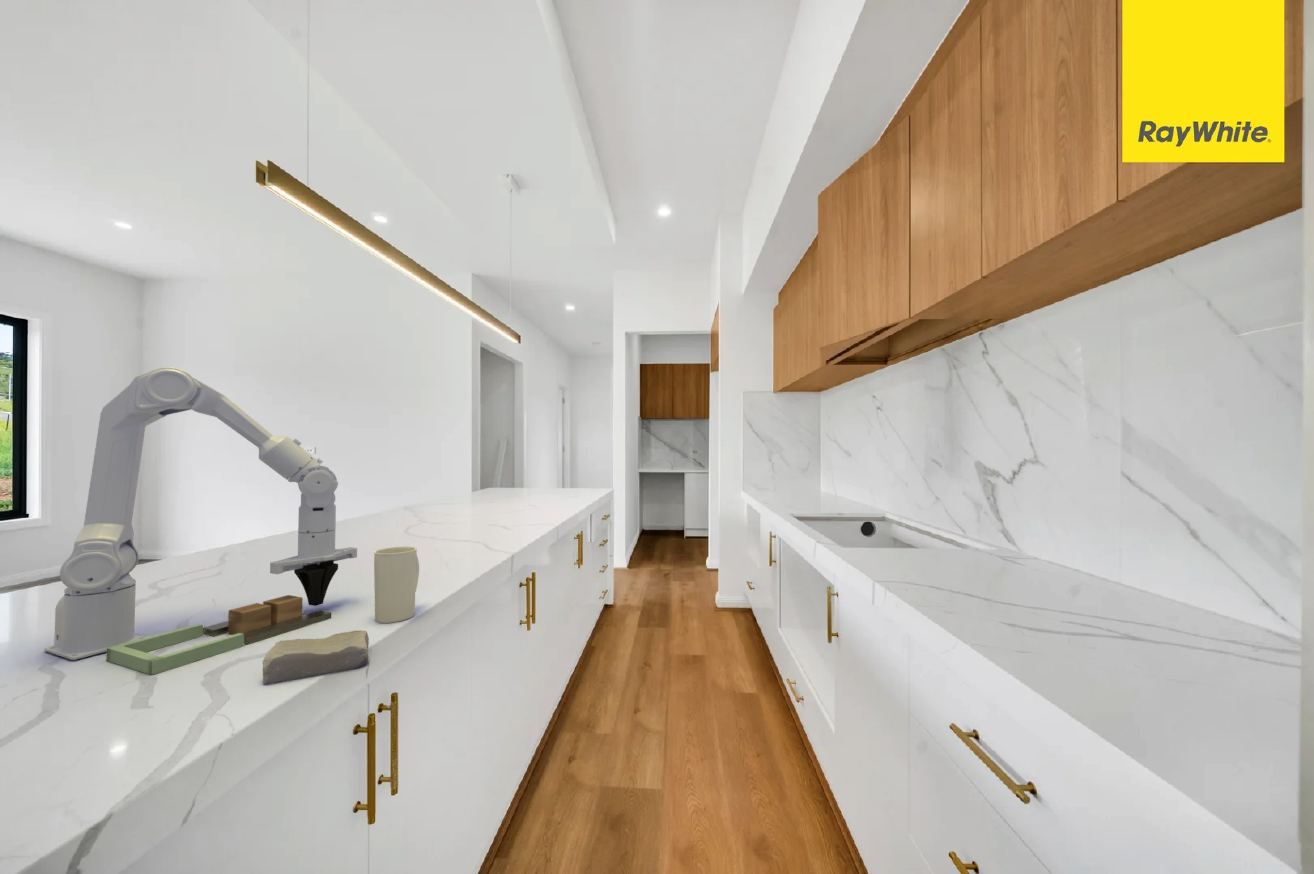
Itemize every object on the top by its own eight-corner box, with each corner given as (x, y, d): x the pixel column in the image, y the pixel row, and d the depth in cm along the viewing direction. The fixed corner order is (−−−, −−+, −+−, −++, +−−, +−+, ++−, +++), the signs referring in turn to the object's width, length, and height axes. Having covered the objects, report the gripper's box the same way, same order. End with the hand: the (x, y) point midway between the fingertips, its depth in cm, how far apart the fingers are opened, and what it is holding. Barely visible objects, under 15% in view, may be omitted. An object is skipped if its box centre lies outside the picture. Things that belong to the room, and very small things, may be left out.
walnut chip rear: (262, 624, 84) (263, 601, 84) (287, 617, 88) (288, 594, 88) (277, 627, 82) (277, 604, 82) (302, 620, 86) (302, 597, 86)
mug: (399, 624, 83) (400, 554, 84) (364, 623, 84) (365, 553, 84) (434, 606, 93) (434, 543, 94) (401, 604, 94) (402, 542, 94)
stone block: (273, 674, 69) (256, 689, 61) (277, 638, 70) (261, 647, 62) (370, 660, 75) (367, 671, 66) (372, 626, 76) (369, 634, 67)
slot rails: (202, 633, 79) (202, 627, 79) (288, 609, 91) (288, 604, 91) (247, 644, 75) (247, 637, 75) (331, 617, 87) (331, 612, 87)
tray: (106, 660, 69) (106, 647, 69) (198, 634, 79) (198, 623, 79) (151, 675, 65) (152, 661, 65) (243, 645, 74) (243, 633, 74)
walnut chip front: (228, 634, 79) (228, 610, 79) (256, 626, 83) (256, 602, 83) (242, 638, 78) (243, 613, 78) (270, 629, 81) (271, 605, 82)
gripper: (288, 538, 82) (287, 619, 82) (368, 526, 96) (367, 595, 95) (263, 536, 85) (261, 614, 85) (343, 524, 99) (342, 592, 98)
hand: (315, 604), depth 90 cm, fingers closed
